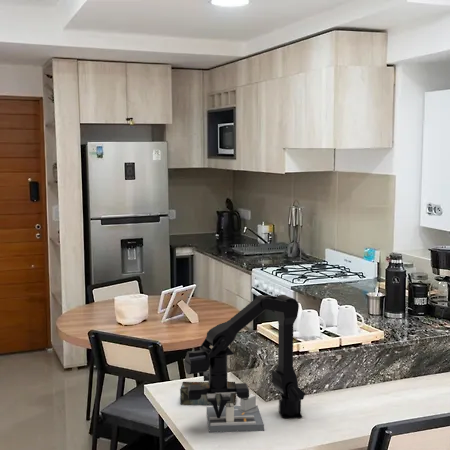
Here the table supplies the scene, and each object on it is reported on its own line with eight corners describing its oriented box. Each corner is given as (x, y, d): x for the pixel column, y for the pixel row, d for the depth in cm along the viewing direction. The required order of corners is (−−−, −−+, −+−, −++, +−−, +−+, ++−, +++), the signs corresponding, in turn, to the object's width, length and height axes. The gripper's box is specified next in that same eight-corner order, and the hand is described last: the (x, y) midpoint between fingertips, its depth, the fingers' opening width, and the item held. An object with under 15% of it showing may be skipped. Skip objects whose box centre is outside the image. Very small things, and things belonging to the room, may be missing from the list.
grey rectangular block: (250, 405, 207) (250, 393, 207) (255, 407, 206) (255, 395, 205) (240, 409, 204) (240, 397, 204) (245, 411, 202) (245, 399, 202)
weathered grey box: (182, 397, 222) (182, 379, 221) (236, 397, 221) (236, 379, 220) (179, 405, 214) (179, 387, 213) (236, 406, 213) (236, 388, 212)
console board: (257, 410, 209) (257, 403, 208) (263, 430, 194) (263, 422, 193) (206, 412, 207) (206, 405, 207) (209, 432, 192) (209, 424, 192)
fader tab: (233, 417, 197) (233, 403, 197) (233, 422, 194) (234, 406, 194) (225, 418, 197) (225, 403, 196) (226, 422, 194) (226, 407, 193)
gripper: (245, 360, 202) (245, 406, 204) (187, 361, 201) (188, 408, 202) (249, 371, 191) (249, 420, 193) (188, 373, 190) (188, 423, 191)
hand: (218, 417), depth 195 cm, fingers closed
